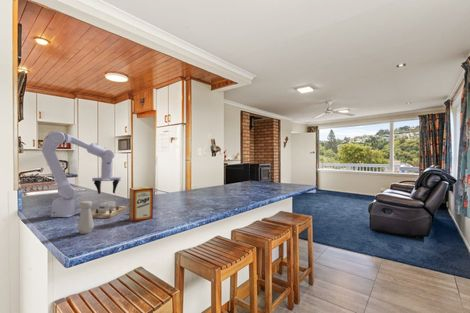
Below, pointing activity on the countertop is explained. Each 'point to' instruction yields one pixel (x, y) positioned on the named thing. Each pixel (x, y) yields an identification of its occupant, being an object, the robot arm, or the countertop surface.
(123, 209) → the pin tray
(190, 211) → the countertop surface
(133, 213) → the baking soda box
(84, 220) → the salt shaker
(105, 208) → the drive block
